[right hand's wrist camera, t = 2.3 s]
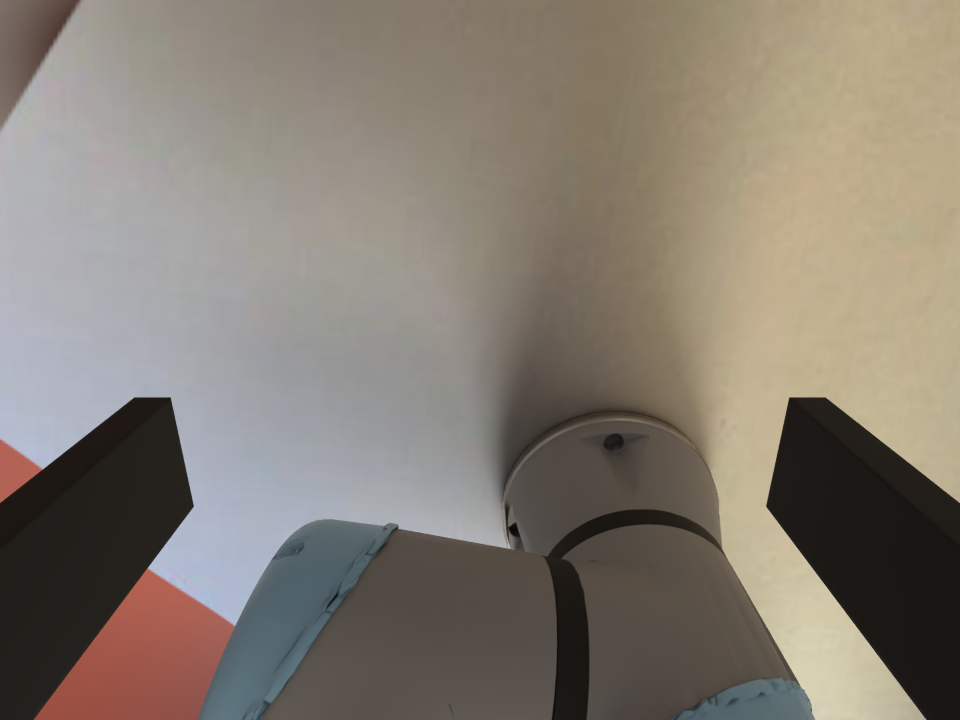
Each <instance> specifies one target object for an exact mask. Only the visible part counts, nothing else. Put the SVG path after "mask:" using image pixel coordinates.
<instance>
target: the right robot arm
mask: <svg viewBox="0 0 960 720" xmlns="http://www.w3.org/2000/svg"><path fill="white" fill-rule="evenodd" d="M501 501H502V500H501ZM193 507H194V505H193V500H192V496H191V491H190V486H189V482H188V477H187V472H186V467H185V463H184V458H183V453H182V449H181V444H180V439H179V435H178V430H177V425H176V420H175V416H174V411H173V406H172V402H171V398H133V399H132V400H131V401H129V402H128V403H127V404H126V405H124V406H123V407H122V408H121V409H119V410H118V411H117V412H115V413H114V414H113V415H112V416H110V417H109V418H108V419H107V420H105V421H104V422H103V423H102V424H100V425H99V426H98V427H96V428H95V429H94V430H93V431H91V432H90V433H89V434H88V435H86V436H85V437H84V438H82V439H81V440H80V441H79V442H77V443H76V444H75V445H74V446H72V447H71V448H70V449H68V450H67V451H66V452H65V453H63V454H62V455H61V456H60V457H58V458H57V459H56V460H54V461H53V462H52V463H51V464H49V465H48V466H47V467H46V468H44V469H43V470H42V471H40V472H39V473H38V474H37V475H35V476H34V477H33V478H32V479H30V480H29V481H28V482H27V483H25V484H24V485H23V486H21V487H20V488H19V489H18V490H16V491H15V492H14V493H13V494H11V495H10V496H9V497H7V498H6V499H5V500H4V501H2V502H1V503H0V720H34V718H35V717H36V716H37V714H38V713H39V712H40V710H41V709H42V708H43V706H44V705H45V704H46V702H47V701H48V700H49V698H50V697H51V696H52V694H53V693H54V692H55V691H56V689H57V688H58V687H59V685H60V684H61V683H62V681H63V680H64V679H65V677H66V676H67V675H68V673H69V672H70V671H71V669H72V668H73V667H74V665H75V664H76V662H77V661H78V660H79V659H80V657H81V656H82V655H83V653H84V652H85V651H86V649H87V648H88V647H89V645H90V644H91V643H92V641H93V640H94V639H95V637H96V636H97V635H98V633H99V632H100V631H101V629H102V628H103V627H104V625H105V624H106V623H107V621H108V620H109V619H110V617H111V616H112V615H113V613H114V612H115V611H116V609H117V608H118V607H119V605H120V604H121V603H122V601H123V600H124V599H125V597H126V596H127V595H128V593H129V592H130V591H131V589H132V588H133V587H134V585H135V584H136V583H137V581H138V580H139V579H140V577H141V576H142V575H143V573H144V572H145V571H146V569H147V568H148V567H149V565H150V564H151V563H152V561H153V560H154V559H155V557H156V556H157V555H158V553H159V552H160V551H161V549H162V548H163V547H164V545H165V544H166V543H167V541H168V540H169V539H170V537H171V536H172V535H173V533H174V532H175V531H176V530H177V528H178V527H179V526H180V524H181V523H182V522H183V520H184V519H185V518H186V516H187V515H188V514H189V512H190V511H191V510H192V508H193ZM766 507H767V508H768V510H769V511H770V512H771V514H772V515H773V516H774V518H775V519H776V520H777V522H778V523H779V524H780V526H781V527H782V528H783V530H784V531H785V532H786V533H787V535H788V536H789V537H790V539H791V540H792V541H793V543H794V544H795V545H796V547H797V548H798V549H799V551H800V552H801V553H802V555H803V556H804V557H805V559H806V560H807V561H808V563H809V564H810V565H811V567H812V568H813V569H814V571H815V572H816V573H817V575H818V576H819V577H820V579H821V580H822V581H823V583H824V584H825V585H826V587H827V588H828V589H829V591H830V592H831V593H832V595H833V596H834V597H835V599H836V600H837V601H838V603H839V604H840V605H841V607H842V608H843V609H844V611H845V612H846V613H847V615H848V616H849V617H850V619H851V620H852V621H853V623H854V624H855V625H856V627H857V628H858V629H859V631H860V632H861V633H862V635H863V636H864V637H865V639H866V640H867V641H868V643H869V644H870V645H871V647H872V648H873V649H874V651H875V652H876V653H877V655H878V656H879V657H880V659H881V660H882V661H883V663H884V664H885V665H886V667H887V668H888V669H889V671H890V672H891V673H892V675H893V676H894V677H895V679H896V680H897V681H898V683H899V684H900V685H901V687H902V688H903V689H904V691H905V692H906V693H907V694H908V696H909V697H910V698H911V700H912V701H913V702H914V704H915V705H916V706H917V708H918V709H919V710H920V712H921V713H922V714H923V716H924V717H925V718H926V720H960V503H959V502H958V501H956V500H955V499H954V498H953V497H951V496H950V495H949V494H947V493H946V492H945V491H944V490H942V489H941V488H940V487H939V486H937V485H936V484H935V483H933V482H932V481H931V480H930V479H928V478H927V477H926V476H925V475H923V474H922V473H921V472H920V471H918V470H917V469H916V468H914V467H913V466H912V465H911V464H909V463H908V462H907V461H906V460H904V459H903V458H902V457H900V456H899V455H898V454H897V453H895V452H894V451H893V450H892V449H890V448H889V447H888V446H886V445H885V444H884V443H883V442H881V441H880V440H879V439H878V438H876V437H875V436H874V435H872V434H871V433H870V432H869V431H867V430H866V429H865V428H864V427H862V426H861V425H860V424H859V423H857V422H856V421H855V420H853V419H852V418H851V417H850V416H848V415H847V414H846V413H845V412H843V411H842V410H841V409H839V408H838V407H837V406H836V405H834V404H833V403H832V402H831V401H829V400H828V399H827V398H789V402H788V406H787V411H786V416H785V420H784V425H783V430H782V435H781V439H780V444H779V449H778V453H777V458H776V463H775V467H774V472H773V477H772V482H771V486H770V491H769V496H768V500H767V505H766ZM502 515H503V528H504V537H505V540H506V544H507V537H508V541H509V544H510V547H511V549H506V548H501V547H495V546H490V545H484V544H479V543H473V542H468V541H462V540H457V539H451V538H446V537H440V536H435V535H429V534H424V533H418V532H413V531H407V530H402V529H398V524H393V523H389V524H387V525H385V526H379V525H371V524H363V523H356V522H348V521H340V520H333V519H324V520H318V521H314V522H311V523H309V524H306V525H304V526H303V527H301V528H300V529H298V530H297V531H296V532H294V533H293V534H292V535H291V536H290V537H289V538H288V539H287V540H286V541H285V542H284V544H283V545H282V546H281V547H280V549H279V550H278V551H277V553H276V554H275V556H274V557H273V558H272V560H271V562H270V563H269V565H268V566H267V568H266V570H265V571H264V573H263V574H262V576H261V578H260V580H259V581H258V583H257V585H256V587H255V588H254V590H253V592H252V594H251V596H250V598H249V600H248V602H247V604H246V606H245V608H244V610H243V612H242V614H241V616H240V618H239V620H238V622H237V624H236V626H235V628H234V630H233V632H232V635H231V637H230V639H229V641H228V643H227V646H226V648H225V650H224V652H223V655H222V657H221V660H220V662H219V664H218V667H217V669H216V672H215V674H214V677H213V679H212V682H211V684H210V687H209V690H208V692H207V695H206V698H205V700H204V703H203V706H202V709H201V712H200V715H199V718H198V720H815V718H814V716H813V714H812V707H811V703H810V700H809V698H808V697H807V694H806V693H805V692H804V691H805V690H803V689H802V688H801V686H800V684H799V683H798V681H797V679H796V677H795V676H794V674H793V672H792V670H791V669H790V667H789V665H788V663H787V662H786V660H785V658H784V656H783V655H782V653H781V651H780V650H779V648H778V646H777V644H776V643H775V641H774V639H773V637H772V636H771V634H770V632H769V630H768V629H767V627H766V625H765V623H764V622H763V620H762V618H761V616H760V615H759V613H758V611H757V610H756V608H755V606H754V604H753V603H752V601H751V599H750V597H749V596H748V594H747V592H746V590H745V589H744V587H743V585H742V583H741V582H740V580H739V578H738V576H737V575H736V573H735V571H734V569H733V568H732V566H731V564H730V563H729V561H728V559H727V557H726V555H725V554H724V552H723V550H722V542H721V528H720V517H719V501H718V494H717V490H716V487H715V483H714V481H713V478H712V475H711V472H710V470H709V468H708V466H707V464H706V463H705V461H704V460H703V458H702V457H701V455H700V453H699V452H698V450H697V449H696V448H695V446H694V445H693V444H692V443H691V442H690V441H689V440H688V439H687V438H686V437H685V436H684V435H683V434H682V433H680V432H679V431H678V430H676V429H675V428H673V427H672V426H670V425H668V424H666V423H664V422H662V421H660V420H658V419H655V418H652V417H649V416H645V415H641V414H637V413H630V412H600V413H593V414H588V415H583V416H580V417H576V418H573V419H571V420H568V421H565V422H563V423H561V424H559V425H557V426H555V427H553V428H552V429H550V430H548V431H547V432H545V433H544V434H542V435H541V436H540V437H538V438H537V439H536V440H535V441H534V442H532V443H531V444H530V445H529V446H528V447H527V448H526V449H525V451H524V452H523V453H522V454H521V456H520V457H519V458H518V460H517V461H516V463H515V464H514V466H513V468H512V470H511V472H510V474H509V476H508V479H507V482H506V486H505V490H504V498H503V503H502ZM507 548H508V546H507Z"/></svg>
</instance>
